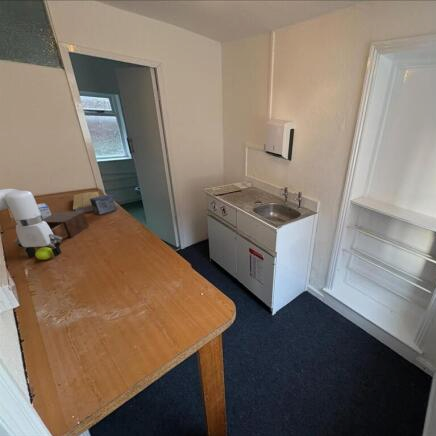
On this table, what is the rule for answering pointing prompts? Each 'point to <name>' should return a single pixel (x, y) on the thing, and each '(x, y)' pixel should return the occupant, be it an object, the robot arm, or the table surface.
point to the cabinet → (69, 221)
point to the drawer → (58, 230)
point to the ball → (44, 253)
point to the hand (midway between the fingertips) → (45, 255)
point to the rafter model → (84, 201)
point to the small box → (103, 204)
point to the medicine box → (44, 210)
